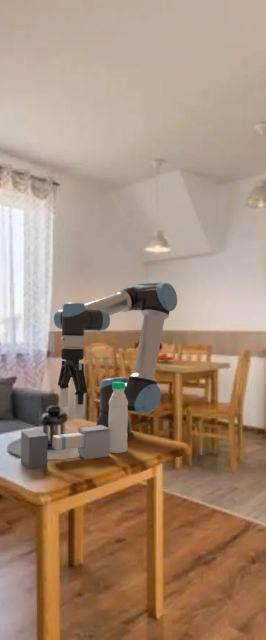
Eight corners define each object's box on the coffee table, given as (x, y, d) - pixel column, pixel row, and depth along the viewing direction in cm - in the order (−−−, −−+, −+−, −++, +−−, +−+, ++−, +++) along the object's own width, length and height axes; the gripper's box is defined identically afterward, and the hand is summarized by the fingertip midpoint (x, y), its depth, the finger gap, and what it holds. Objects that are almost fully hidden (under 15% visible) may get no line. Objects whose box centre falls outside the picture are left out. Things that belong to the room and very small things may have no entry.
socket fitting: (38, 458, 157) (38, 429, 157) (47, 466, 149) (47, 435, 149) (20, 461, 154) (21, 431, 154) (28, 469, 146) (29, 437, 146)
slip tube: (102, 441, 166) (103, 429, 166) (108, 443, 163) (108, 432, 163) (52, 447, 157) (52, 435, 157) (56, 450, 153) (56, 438, 153)
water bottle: (124, 454, 164) (126, 383, 164) (105, 453, 165) (106, 382, 165) (129, 449, 171) (130, 381, 171) (110, 447, 172) (111, 380, 172)
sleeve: (101, 450, 168) (101, 424, 168) (109, 456, 162) (110, 428, 162) (77, 454, 163) (78, 427, 163) (85, 459, 157) (86, 431, 157)
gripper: (49, 346, 167) (48, 404, 167) (76, 350, 145) (75, 418, 145) (69, 345, 171) (68, 403, 171) (98, 350, 149) (96, 416, 149)
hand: (71, 410), depth 158 cm, fingers open, 13 cm apart
